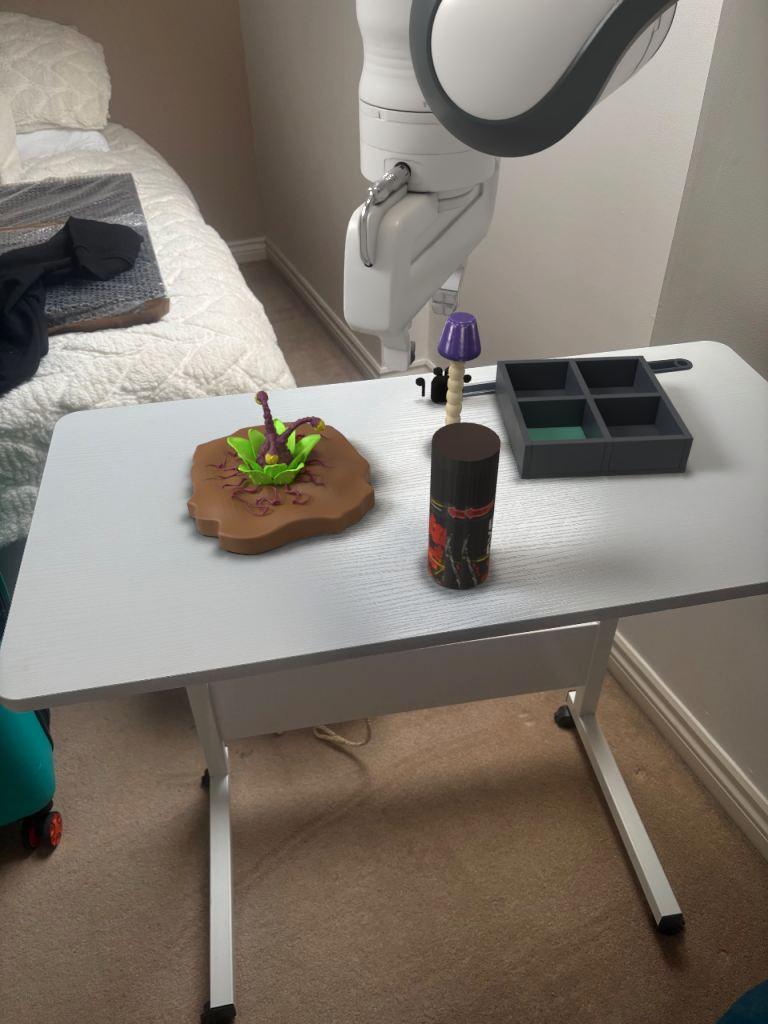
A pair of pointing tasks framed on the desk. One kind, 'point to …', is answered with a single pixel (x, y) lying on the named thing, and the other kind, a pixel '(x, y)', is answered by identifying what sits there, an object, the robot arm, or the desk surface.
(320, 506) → the plant
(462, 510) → the deodorant
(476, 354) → the toy lamp
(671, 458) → the compartment tray
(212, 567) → the desk surface
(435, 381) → the wireless earbuds
